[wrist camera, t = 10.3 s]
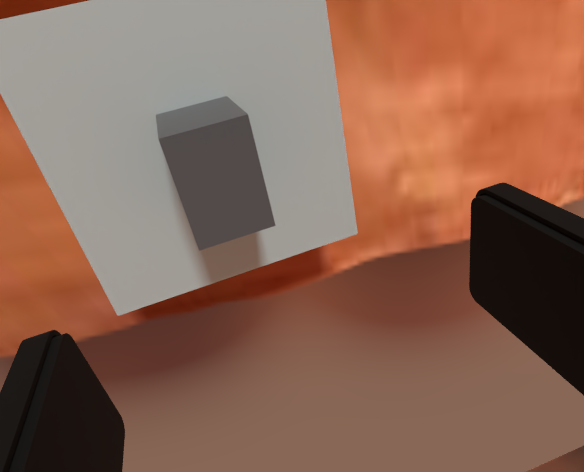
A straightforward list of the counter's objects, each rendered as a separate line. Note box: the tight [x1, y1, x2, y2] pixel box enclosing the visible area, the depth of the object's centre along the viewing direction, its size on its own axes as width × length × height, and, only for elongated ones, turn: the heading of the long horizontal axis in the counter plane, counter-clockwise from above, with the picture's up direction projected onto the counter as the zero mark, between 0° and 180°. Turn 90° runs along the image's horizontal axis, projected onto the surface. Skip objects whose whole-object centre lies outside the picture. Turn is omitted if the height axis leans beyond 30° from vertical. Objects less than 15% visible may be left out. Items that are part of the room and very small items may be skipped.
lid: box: [0, 0, 358, 316], centre depth 20 cm, size 15×15×6 cm
